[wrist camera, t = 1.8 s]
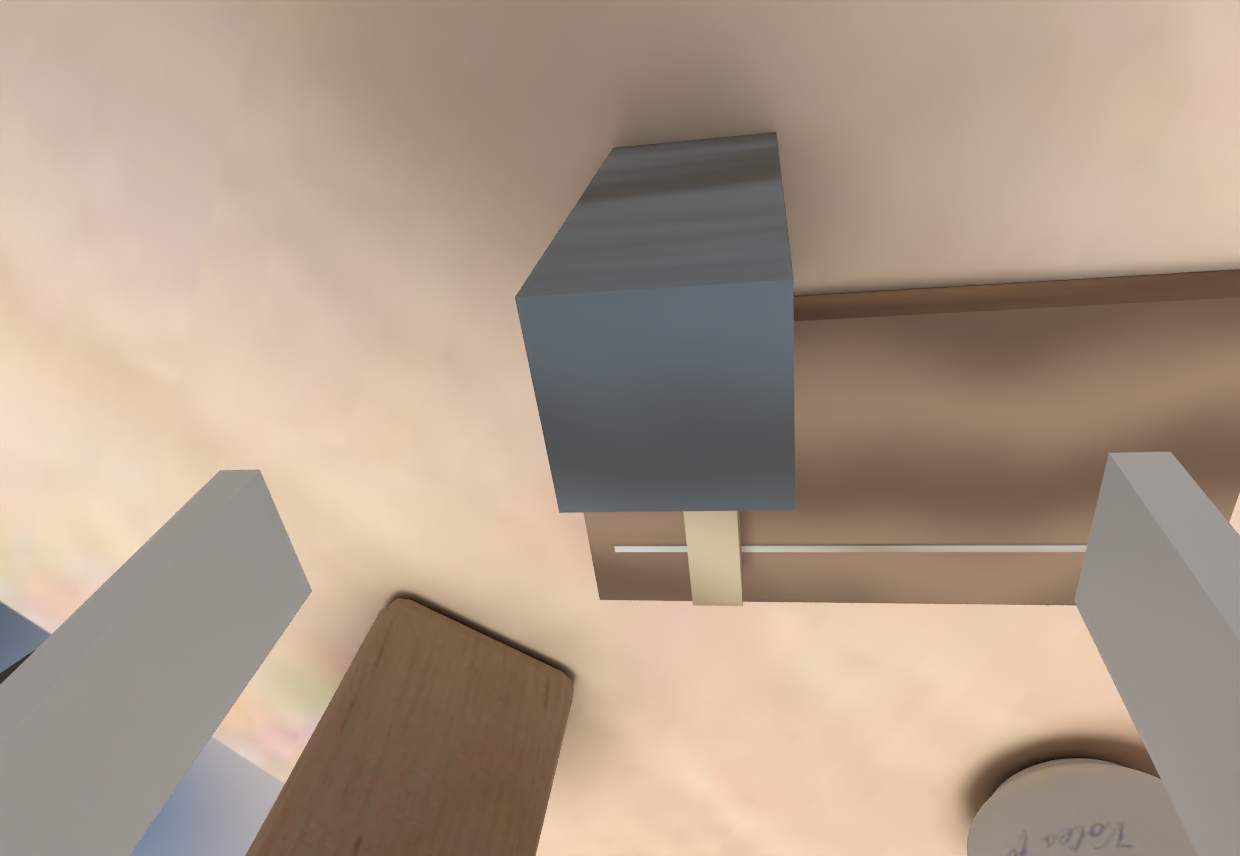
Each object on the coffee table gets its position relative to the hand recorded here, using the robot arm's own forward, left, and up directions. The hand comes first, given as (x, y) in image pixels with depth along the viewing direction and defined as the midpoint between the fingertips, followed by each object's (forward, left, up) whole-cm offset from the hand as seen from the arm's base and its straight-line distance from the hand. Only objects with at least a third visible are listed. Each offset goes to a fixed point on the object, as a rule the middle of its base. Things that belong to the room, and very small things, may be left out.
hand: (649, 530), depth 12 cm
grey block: (+5, 0, -15) cm, 16 cm away
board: (+9, +6, -15) cm, 18 cm away
